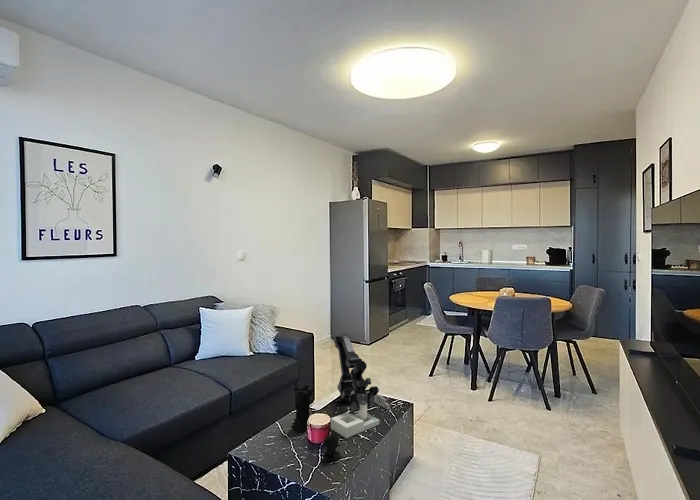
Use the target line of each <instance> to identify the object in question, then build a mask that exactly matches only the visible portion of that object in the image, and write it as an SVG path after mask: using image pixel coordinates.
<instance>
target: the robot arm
mask: <svg viewBox="0 0 700 500" xmlns="http://www.w3.org/2000/svg"><path fill="white" fill-rule="evenodd" d="M332 341H333V343H334V346H335V348H336V350H337V351H338V358H339V364H340V371H341V372H340V373H341V376H340V377H339V382H338V384H337V390H338V392H339V399H337V401H339V402H340V403H342V404H343V405H346V404H349V403H353V404H354V407H356V409H357V410H358V411H359V409H360V408H359V403H360V402H359V399H358V395H363V394H365V400H366V403H367V410H369V409H370V406H371V405H370V404H371V398H372V397H374V396H375V395H378V393H379V391H380V389H379V387H378V386H375V385H374V386H370V387H369V385H372V381H371V377H366V378H365V379H364V378H363V374H364V373H365V371H366V369H367V367H368V366H367V365H368V364H367V363H366V362H365V361H364V360H363V359H362V358H360V356H359V355H358V354H357V353H356V352H355V350H354V346H353V344H352V342H351V337H350V335H349V334H345V333H341V334H338V333H337V334H335V335H334V336H333V340H332ZM350 369H351V370H350ZM367 387H369V389H367Z"/></svg>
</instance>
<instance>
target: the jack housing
mask: <svg viewBox="0 0 700 500" xmlns="http://www.w3.org/2000/svg"><path fill="white" fill-rule="evenodd" d="M330 421H331V429H330V430H332V431H334V433H336V434H337V435H340V436H342V437H344V438H345V439H348V438H350V437H353V436H356V435H358V434H360V433H362V432H365V431H367V430H370V429H372V428H374V427H377V426H379V425H380V422H381V421H380V419H379V418H376V417H375V416H373V415H371V414H369V413H367V421H365V422H364V421H363V420H361V419H359V412H357V413H356V414H355V413H354V414H352V413H350V412H344V413H341V414H339V415H336V416H334V417H331V418H330Z"/></svg>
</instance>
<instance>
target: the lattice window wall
mask: <svg viewBox="0 0 700 500" xmlns="http://www.w3.org/2000/svg"><path fill="white" fill-rule="evenodd" d="M373 397H374V398H373V399H374V401H373V402H374V403H375V404H377V405H378V406H380V407H382V408H383V409H386V410H390V405H391V403H388V402H387V398H385V397H384V396H383V394H380V393H379V394H377V395H375V396H373Z"/></svg>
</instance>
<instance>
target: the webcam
mask: <svg viewBox="0 0 700 500" xmlns="http://www.w3.org/2000/svg"><path fill="white" fill-rule="evenodd" d="M339 440H340V438H339V434H338V433H337V432H332V433H330V434H329V435H326V436H325V438H324V440H323V446H325V451H324V452H323V455H322V456H323V459H324V461H327V462H334V463H335V462H337V461H339V460H340V459H341V457H342V456H341V452H340V451H338V450H337V448H338V447H340V446H341V444H339V443H340V442H339Z"/></svg>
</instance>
